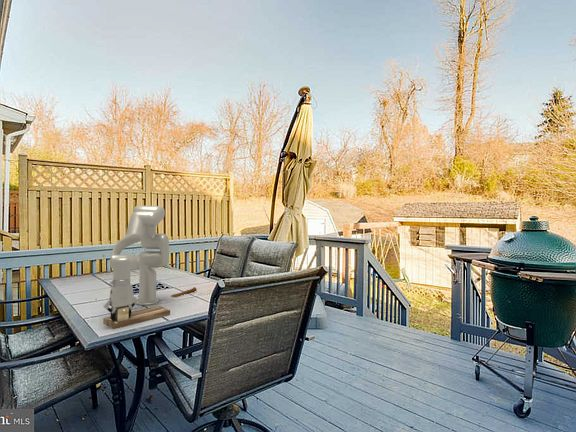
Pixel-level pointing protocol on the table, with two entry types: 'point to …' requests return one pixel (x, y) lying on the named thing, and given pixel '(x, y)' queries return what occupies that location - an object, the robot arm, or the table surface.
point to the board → (138, 317)
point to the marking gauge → (122, 313)
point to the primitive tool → (184, 292)
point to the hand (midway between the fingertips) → (121, 318)
